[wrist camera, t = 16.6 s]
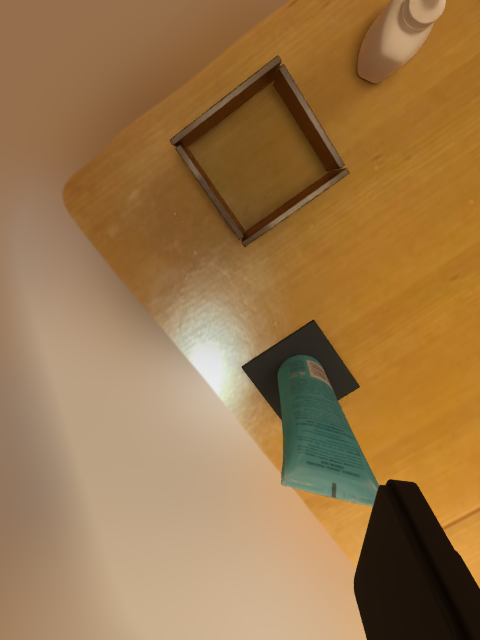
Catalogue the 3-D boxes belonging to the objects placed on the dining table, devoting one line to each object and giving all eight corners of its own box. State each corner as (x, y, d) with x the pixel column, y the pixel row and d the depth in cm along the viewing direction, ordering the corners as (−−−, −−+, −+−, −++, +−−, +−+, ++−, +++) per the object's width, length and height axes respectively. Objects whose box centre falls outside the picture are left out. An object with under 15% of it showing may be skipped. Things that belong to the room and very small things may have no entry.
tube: (262, 390, 48) (273, 516, 30) (271, 348, 47) (288, 453, 29) (330, 401, 49) (383, 533, 30) (341, 360, 47) (403, 471, 29)
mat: (288, 428, 50) (289, 430, 50) (241, 366, 48) (241, 367, 48) (359, 385, 49) (360, 387, 48) (313, 319, 47) (314, 320, 46)
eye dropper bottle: (421, 47, 39) (494, -8, 28) (367, 92, 41) (416, 56, 29) (393, 2, 38) (457, -75, 27) (339, 49, 40) (378, -6, 28)
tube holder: (244, 239, 44) (244, 247, 39) (179, 145, 42) (169, 140, 36) (335, 174, 43) (350, 173, 37) (273, 73, 40) (278, 54, 34)
